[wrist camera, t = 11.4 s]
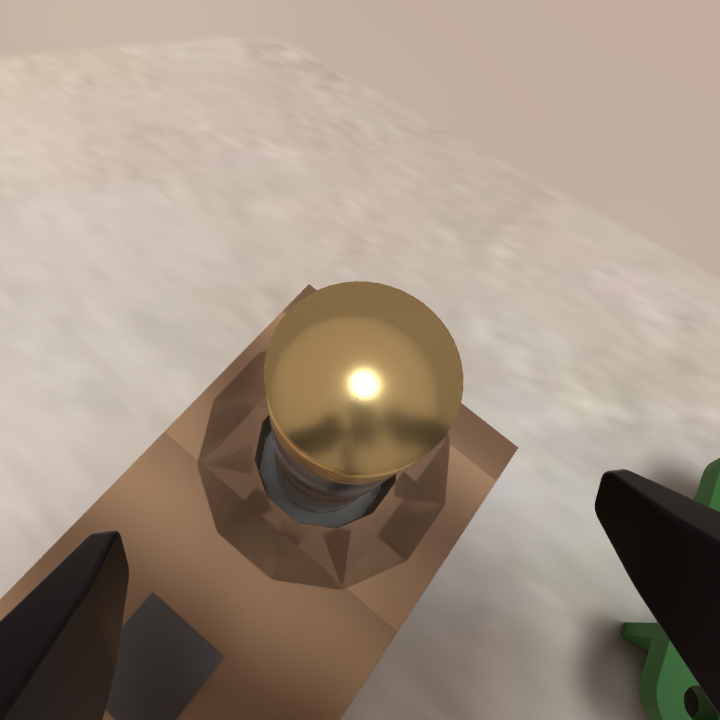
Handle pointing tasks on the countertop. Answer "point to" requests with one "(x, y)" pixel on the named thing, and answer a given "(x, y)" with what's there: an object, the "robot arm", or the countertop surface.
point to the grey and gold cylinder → (357, 390)
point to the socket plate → (265, 563)
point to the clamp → (663, 663)
